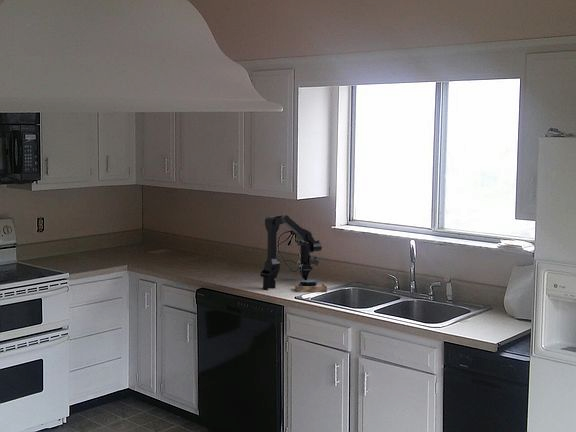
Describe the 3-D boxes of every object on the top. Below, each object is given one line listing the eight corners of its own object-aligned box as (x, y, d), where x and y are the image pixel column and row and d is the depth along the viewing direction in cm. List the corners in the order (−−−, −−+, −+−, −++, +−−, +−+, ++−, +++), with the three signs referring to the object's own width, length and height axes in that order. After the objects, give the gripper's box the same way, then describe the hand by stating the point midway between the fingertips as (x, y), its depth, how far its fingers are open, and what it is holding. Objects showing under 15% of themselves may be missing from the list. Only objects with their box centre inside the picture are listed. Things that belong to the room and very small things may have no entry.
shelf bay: (297, 292, 400) (298, 286, 399) (295, 288, 411) (295, 283, 411) (326, 292, 401) (326, 286, 401) (323, 288, 413) (323, 283, 413)
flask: (299, 281, 416) (302, 279, 427) (299, 286, 416) (302, 284, 427) (316, 281, 415) (318, 279, 425) (316, 286, 415) (318, 284, 425)
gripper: (321, 254, 421) (321, 282, 422) (316, 251, 439) (315, 277, 440) (302, 255, 419) (301, 282, 420) (297, 251, 438) (297, 277, 439)
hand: (304, 280), depth 430 cm, fingers open, 8 cm apart
